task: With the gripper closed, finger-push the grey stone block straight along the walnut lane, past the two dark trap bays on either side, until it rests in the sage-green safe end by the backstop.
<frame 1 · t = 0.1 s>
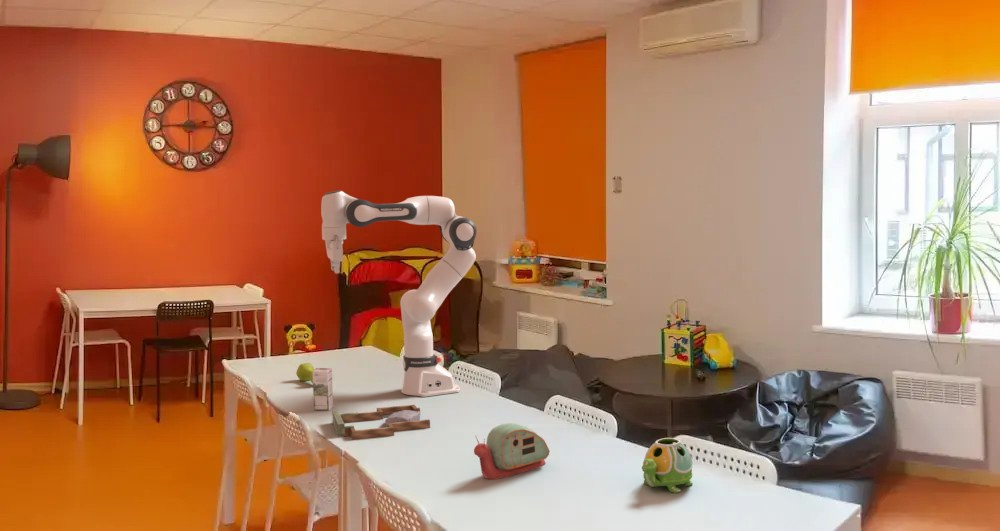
hand: (335, 271, 334), 48 cm above the table, tool pointing down, fingers open, 8 cm apart
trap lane: (380, 425, 302), on the table
syrup box: (323, 409, 325), on the table
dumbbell: (313, 383, 366), on the table
turtle holder: (665, 487, 238), on the table
stone block: (401, 424, 304), on the table
toy snail: (511, 472, 252), on the table
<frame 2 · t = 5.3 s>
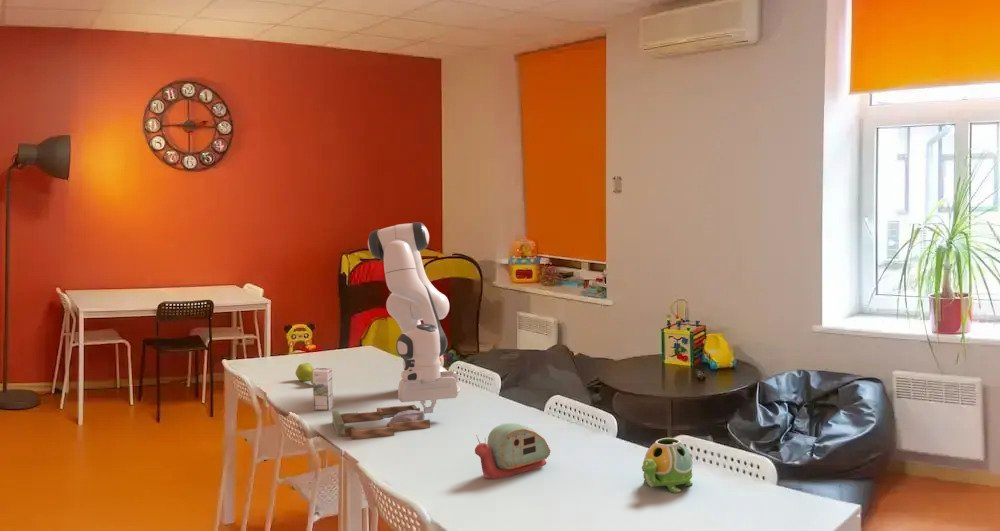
hand: (428, 412, 306), 3 cm above the table, tool pointing down, fingers closed
stone block: (406, 424, 304), on the table
everything else where it was.
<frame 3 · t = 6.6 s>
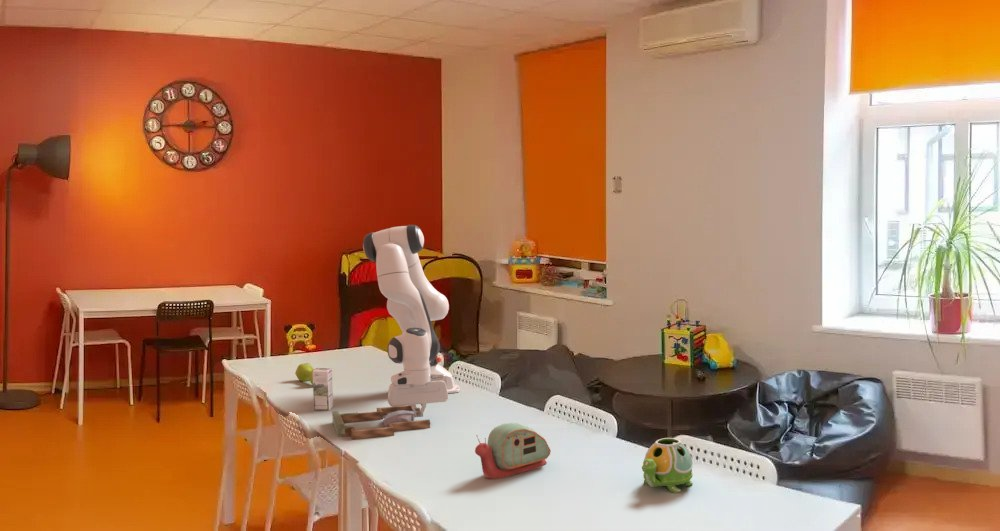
hand: (418, 416, 305), 2 cm above the table, tool pointing down, fingers closed
stone block: (398, 425, 303), on the table, touching gripper
everything else where it was.
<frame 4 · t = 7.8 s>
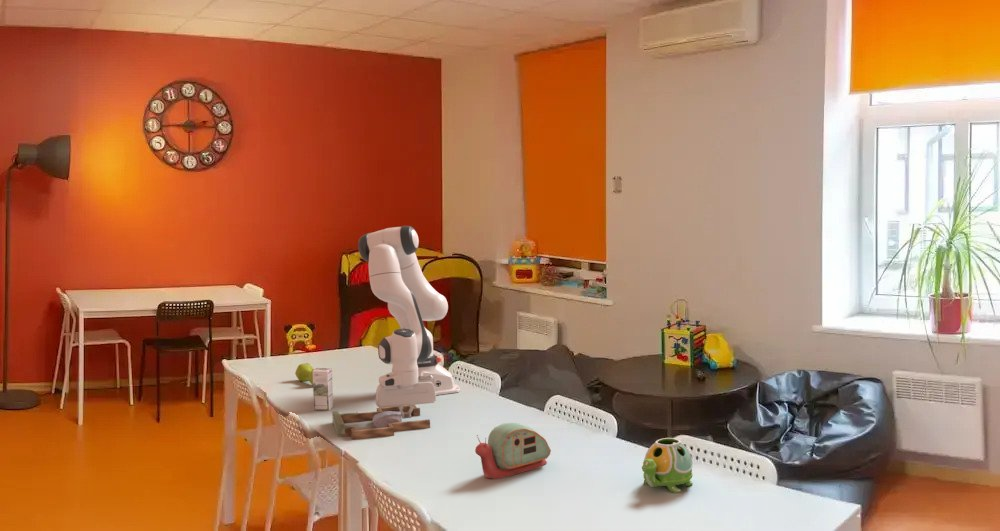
hand: (406, 418, 304), 2 cm above the table, tool pointing down, fingers closed
stone block: (387, 426, 303), on the table, touching gripper
everything else where it was.
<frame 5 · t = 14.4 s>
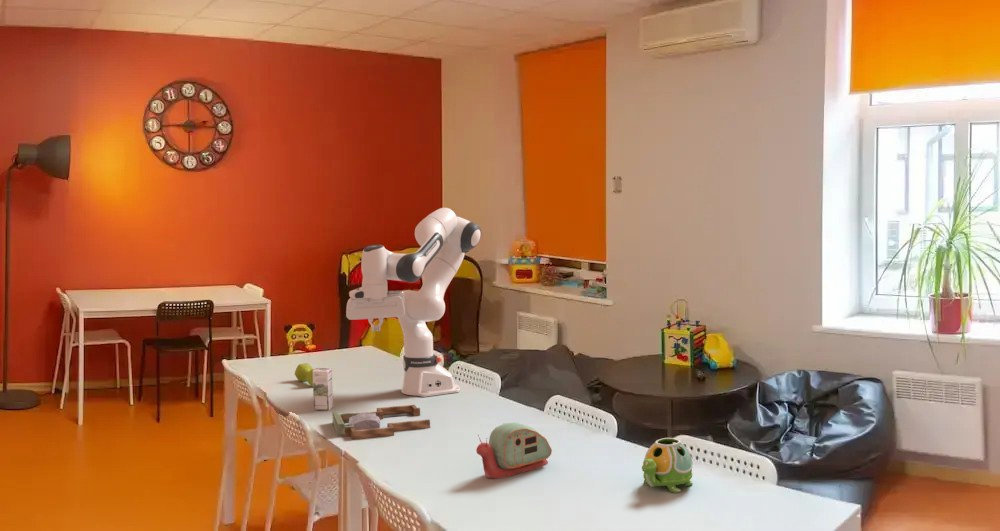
hand: (376, 330, 316), 29 cm above the table, tool pointing down, fingers closed
stone block: (363, 428, 300), on the table
at the end: stone block inside the target area (2.8 cm from its centre), on the table; stone block moved 12.8 cm from its start; stone block touching table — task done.
